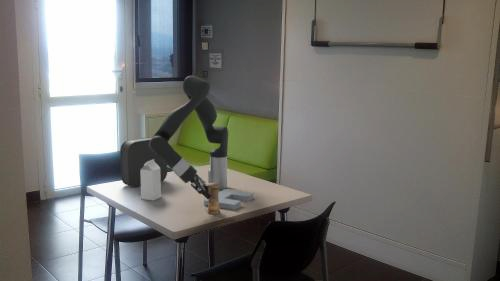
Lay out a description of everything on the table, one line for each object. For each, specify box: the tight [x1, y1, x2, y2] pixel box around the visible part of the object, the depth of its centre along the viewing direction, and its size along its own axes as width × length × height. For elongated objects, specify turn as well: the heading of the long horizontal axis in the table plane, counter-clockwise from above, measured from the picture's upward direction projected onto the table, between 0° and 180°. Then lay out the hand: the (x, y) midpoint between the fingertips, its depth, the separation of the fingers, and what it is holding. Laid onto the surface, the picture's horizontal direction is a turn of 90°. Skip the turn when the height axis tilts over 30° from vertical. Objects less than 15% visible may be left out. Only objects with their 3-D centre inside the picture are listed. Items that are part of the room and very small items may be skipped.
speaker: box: [119, 136, 168, 188], centre depth 262 cm, size 25×9×25 cm, turn 136°
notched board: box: [203, 188, 255, 211], centre depth 233 cm, size 16×22×2 cm
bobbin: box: [206, 183, 221, 215], centre depth 216 cm, size 6×6×13 cm
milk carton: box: [140, 159, 162, 201], centre depth 236 cm, size 7×7×19 cm
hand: (209, 195), depth 216 cm, fingers open, 8 cm apart
